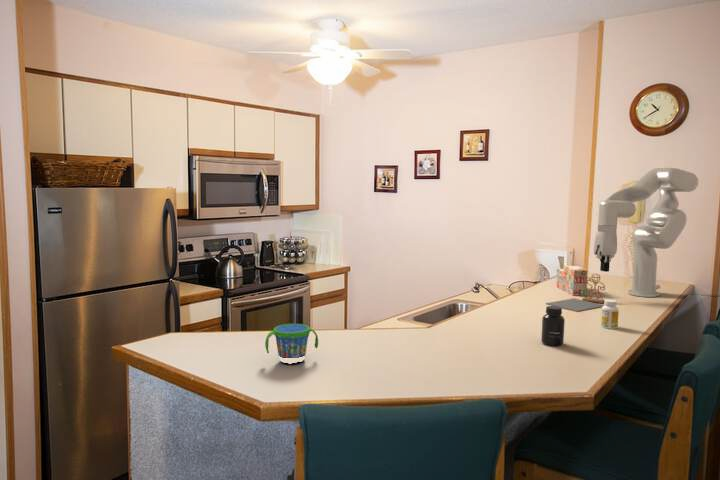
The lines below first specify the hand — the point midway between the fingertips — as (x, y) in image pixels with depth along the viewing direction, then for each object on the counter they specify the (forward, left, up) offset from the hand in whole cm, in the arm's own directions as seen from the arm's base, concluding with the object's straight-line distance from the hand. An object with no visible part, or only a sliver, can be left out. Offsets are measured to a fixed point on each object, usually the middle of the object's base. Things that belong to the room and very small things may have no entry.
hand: (604, 271), depth 234 cm
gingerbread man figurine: (+6, 0, -13) cm, 14 cm away
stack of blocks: (-4, -20, -13) cm, 25 cm away
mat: (+18, 0, -13) cm, 22 cm away
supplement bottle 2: (+36, +29, -13) cm, 48 cm away
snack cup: (+149, +5, -13) cm, 149 cm away
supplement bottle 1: (+69, +32, -13) cm, 77 cm away
